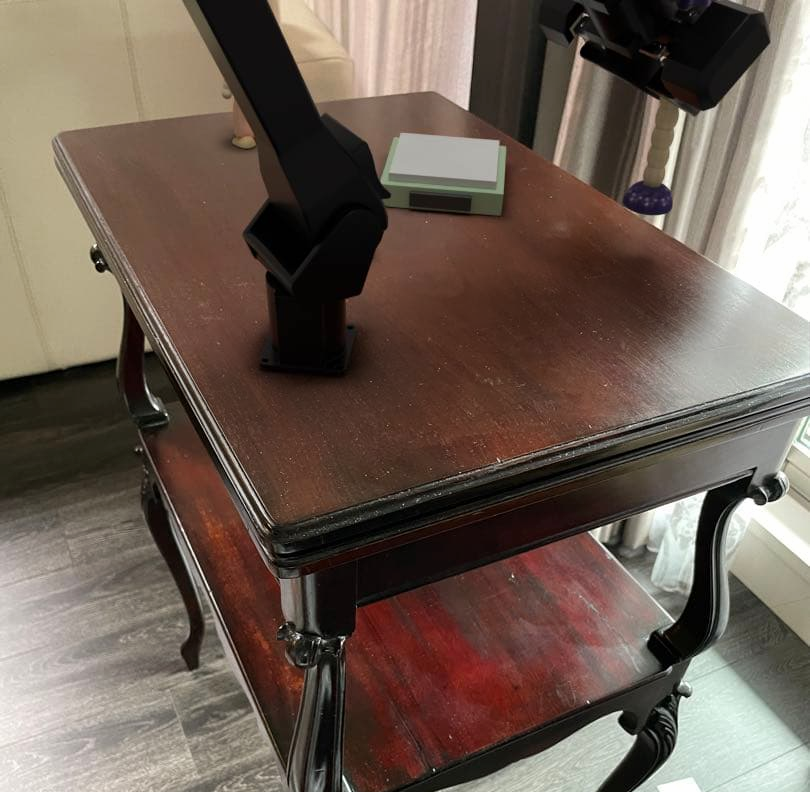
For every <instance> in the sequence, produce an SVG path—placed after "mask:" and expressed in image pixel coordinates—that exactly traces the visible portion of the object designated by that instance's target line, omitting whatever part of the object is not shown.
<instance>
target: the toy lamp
mask: <svg viewBox="0 0 810 792" xmlns="http://www.w3.org/2000/svg"><path fill="white" fill-rule="evenodd" d="M712 1H718V0H686V1H684V0H680V1H679V2H678V4H677V7H678V8H680V9H683V10H687V9H689V8H690V7H692V6H694V5H702V6H705V7H708V6H709V5H710V4H711V3H712ZM659 105H660V106H659V107H658V108H657V111H656V113H655V118H654V119H655V120H654V122H655V127H653V130H652V132H651V136H650V144H651V146H650V147H649V149H648V151H647V156H646V163H647V164H646V166H645V168H644V170H643V174H642V179H643V180H639V181H637V182H635V183H633V184H631V186H630V187H629V188H628V189H627V190H626V192H625V194H624V195H623V198H622V205H623V206H624V207H625V208H626V209H628V210H629V211H631V212H633V213H636V214H638V215H645V216H663V215H666V214H669V213H670V212H672V210H673V203H674V200H673V199H674V197H673V194H672V192H671V190H670V188H669V187H668V186H667V185H665V184H664V181H665V176H666V166H667V164H668V162H669V160H670V153H671V152H670V147H671V146H672V145H673V142H674V139H675V127H676V126H677V124H678V121H679V118H680V108H678V107H676V106H675V105H673V104H672V103H670V102H668V101H667V100H665V99H664V98H662V97H661V96H660V100H659Z"/></svg>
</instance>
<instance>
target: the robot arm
mask: <svg viewBox="0 0 810 792" xmlns="http://www.w3.org/2000/svg"><path fill="white" fill-rule="evenodd" d="M679 1H680V0H542V1H541V2H540V5H539V10H538V17H537V18H538V19H537V24H538V26H539V27H540V29H541V31H542V32H543V34H544V35H545V37H546V39H547V40H548V41H550V42H552V43H554V44H556V45H559V46H561V47H563V48H565V49H568V48H569V47H570V46H572V44H573V42H574V40H575V36H574V34H575V35H576V36H578V37H579V38H581V39H582V40H583V42H584V44H583V45H582V46H581V48H580V49H579V56H580V57H581V58H582V59H583V60H585V61H587V62H589V63H591V64H592V65H594V66H596V67H598V68H600V69H601V70H604V71H605V72H607V73H608V74H611V75H613V77H616V78H618V79H619V80H621V81H623V82H625V83H627V84H629V85H630V86H632V87H633V88H636V89H637V90H639V91H641V92H643V93H645V94H646V95H648V96H650V97H652V98H653V99H655V100H657V101H660V96H661V97H662V98H664V99H665V100H667V101H668V102H670V103H672V104H673V105H675V106H676V107H678V108H679V110H681V111H683V112H684V113H686V114H688V115H689V116H691V117H693V118H695V117H697V116H698V115H699V114H700V113H701V112H706V111H708V110H711V109H714V108H716V107H717V106H718V105H719V104H720V102H721V101H722V100H723V99H724V97H726V95H727V94H728V93H729V92H730V90H732V88H733V87H734V86H735V85H736V84H737V82H739V80H740V79H741V78H742V77H743V76H744V74H745V73H746V72H747V71H748V70H749V68H750V67H752V65H753V64H754V63H755V61H757V60H758V58H759V57H760V56H761V54H762V53H763V52H764V51H765V50H766V49H767V48H768V46H769V45H770V44H771V40H772V39H771V31H770V27H769V24H768V21H767V18H766V15H765V12H764V11H761V10H758V9H755V8H753V7H749V6H746V5H743V4H740V3H737V2H735V1H732V0H718V1H712V3H711V4H710V5H709V6H708V7H705V6H702V5H694V6H692V7H690V8H689V9H687V10H683V9H680V8H678V7H677V4H678V2H679ZM684 1H686V0H684ZM181 2H182V4H183V5H184V7H185V9H186V12H187V13H188V14H189V16H190V18H191V20H192V22H193V25H195V27H196V29H197V31H198V33H199V35H200V37H201V39H202V41H203V42H204V44H205V47H206V48H207V50H208V51H209V54H210V56H211V58H212V60H213V61H214V63H215V65H216V66H217V68H218V70H219V73H220V74H221V76H222V78H223V81H224V80H225V81H226V83H227V85H228V87H229V89H230V91H231V93H232V96H233V99H234V98H235V100H236V102H237V104H238V106H239V107H240V109H241V111H242V113H243V115H244V117H245V119H246V120H247V122H248V124H249V126H250V128H251V130H252V132H253V134H254V136H255V139H256V141H255V142H256V149H257V156H258V164H259V172H260V175H261V178H262V181H263V185H264V187H265V191H266V193H267V196H268V197H267V198H266V200H265V201H264V203H263V204H262V205H261V207H260V208H259V209H258V211H257V212H256V213H255V214H254V216H253V218H251V220H250V221H249V223H248V224H247V226H246V227H245V228H244V230H243V231H242V235H241V236H242V238H243V240H244V242H245V245H246V246H247V248H248V250H249V252H250V255H251V256H252V257H253V258H254V260H256V261H258V262H259V263H260V264H261V265H262V266H263V267H264V269H265V270H266V272H265V275H264V276H265V278H264V279H265V290H266V301H267V311H268V322H269V323H268V324H269V334H268V336H267V338H266V341H265V343H264V346H263V348H262V351H261V353H260V356H259V358H258V367H259V368H260V369H262V370H263V369H264V370H271V371H282V372H293V373H302V374H315V375H323V376H335V377H340V376H341V377H342V376H344V375H346V373H347V369H348V366H349V362H350V360H351V359H350V358H351V356H352V355H351V354H352V352H353V347H354V344H355V340H356V337H357V331H358V330H357V329H358V327H357V326H356V325H355V324H351V323H347V299H351V298H354V297H359V296H361V295H362V293H363V290H364V287H365V284H366V281H367V277H368V275H369V271H370V269H371V266H372V263H373V259H374V257H375V254H376V250H377V248H378V247H379V245H380V244H381V242H382V239H383V238H384V237H383V236H384V234H385V232H386V231H387V230H388V228H389V215H388V210H387V206H385V204H384V202H383V200H382V199H389V198H390V197H391V193H390V192H389V191H388V190H386V189H385V188H384V187H383V185H382V184H381V182H380V180H381V179H379V176H378V173H377V169H376V165H375V161H374V160H375V159H374V156H373V154H372V151H371V149H370V146H369V144H368V142H367V141H365V139H363V138H362V137H361V136H359V135H357V134H356V133H355V132H354V131H352V130H350V129H349V128H348V127H347V126H345V125H344V124H343V123H341V122H340V121H339V120H337V118H334V117H333V116H332V115H331V114H329V113H328V112H324V113H323V114H322V115H320V112H319V110H318V107H317V105H316V103H315V101H314V99H313V97H312V94H311V93H310V90H309V88H308V86H307V84H306V81H305V79H304V77H303V75H302V73H301V70H300V69H299V66H298V64H297V62H296V59H295V58H294V55H293V52H292V51H291V49H290V46H289V44H288V42H287V39H286V38H285V36H284V33H283V31H282V29H281V27H280V24H279V22H278V20H277V17H276V16H275V13H274V11H273V9H272V7H271V4H270V3H269V1H268V0H181ZM582 14H585V15H582ZM581 15H582V17H581V18H580V16H581ZM579 18H580V20H579V21H578V22H577V23H576V21H577V20H578V19H579ZM575 23H576V24H575ZM574 24H575V26H574V27H573V25H574ZM572 27H573V28H572ZM571 28H572V29H573V33H574V34H573V33H572V30H571ZM663 57H664V58H663Z"/></svg>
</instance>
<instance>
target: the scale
mask: <svg viewBox="0 0 810 792" xmlns="http://www.w3.org/2000/svg"><path fill="white" fill-rule="evenodd" d="M500 143H501V142H500V140H498V139H485V138H484V139H483V138H473V137H472V138H471V137H459V136H447V135H436V134H435V135H434V134H422V133H411V132H410V133H408V132H400V133H399V137H396V136H395V137H393V139H392V142H391V144H390V148H389V152H388V155H387V158H386V161H385V165H384V167H383V171H382V174H381V177H380V179H379V180H380V182H381V184H382V185H383V187H384V188H385V189H386V190H388V191H389V192H390V193H391V197H390V198H389V199H382V200H383V202H384V204H385V206H386V207H391V208H399V209H401V208H402V209H413V210H425V211H426V210H427V211H436V212H437V211H438V212H451V213H460V214H461V213H463V214H473V215H484V216H495V217H496V216H497V217H501V216H502V211H503V203H504V195H505V181H506V180H505V179H506V177H505V176H506V159H507V146H506V145H500Z"/></svg>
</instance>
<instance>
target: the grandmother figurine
mask: <svg viewBox="0 0 810 792" xmlns="http://www.w3.org/2000/svg"><path fill="white" fill-rule="evenodd" d="M222 87H223V89H222V90H221V97H222V98H223V99H225V100H230V99H231V98H232V96H233V94H232V93H231V91H230V89H229V87H228V85H227V83H226V81H225V80H224V79H223V86H222ZM232 123H233V134H234V135H235V137H233V139H232V145H234V146H236V147H238V148H240V149H244V150H245V149H253V148H255V147H257V143H256V139H255V136H254V134H253V132H252V130H251V128H250V126H249V124H248V122H247V120H246V119H245V117H244V115H243V113H242V111H241V109H240V107H239V106H238V104H237V102H236V100H235V98H234V97H233V102H232Z"/></svg>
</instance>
